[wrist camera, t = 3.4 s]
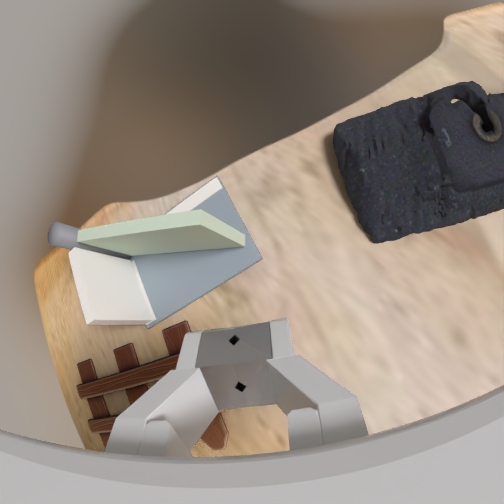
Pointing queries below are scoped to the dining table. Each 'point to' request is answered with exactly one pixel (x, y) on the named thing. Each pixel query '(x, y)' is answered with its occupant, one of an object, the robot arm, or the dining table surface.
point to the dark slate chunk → (424, 161)
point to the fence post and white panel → (102, 281)
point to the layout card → (193, 259)
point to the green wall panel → (164, 234)
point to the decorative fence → (138, 385)
